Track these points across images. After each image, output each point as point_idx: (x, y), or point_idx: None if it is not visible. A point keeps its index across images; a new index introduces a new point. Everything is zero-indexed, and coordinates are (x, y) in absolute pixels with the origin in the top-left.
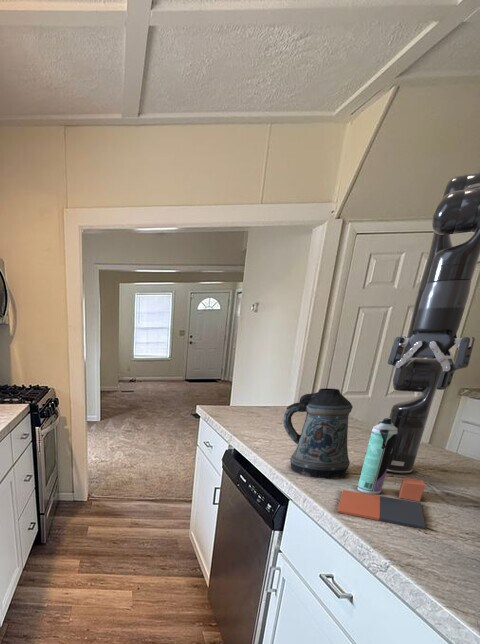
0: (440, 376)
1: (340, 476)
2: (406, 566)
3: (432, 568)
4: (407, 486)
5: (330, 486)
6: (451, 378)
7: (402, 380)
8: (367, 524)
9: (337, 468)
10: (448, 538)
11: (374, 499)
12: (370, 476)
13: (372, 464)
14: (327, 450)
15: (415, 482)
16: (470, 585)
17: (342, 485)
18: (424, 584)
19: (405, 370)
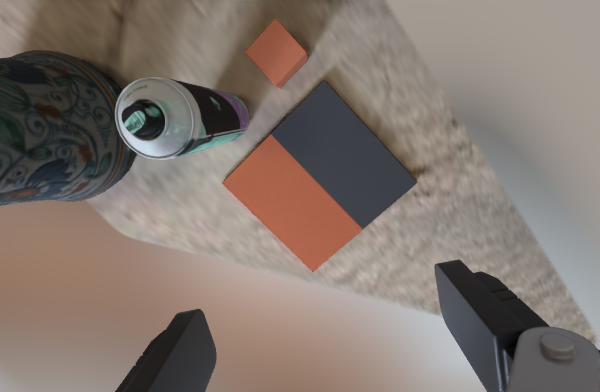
0: (483, 382)
1: None
2: None
3: (511, 286)
4: (283, 78)
5: (187, 181)
6: (522, 308)
7: (193, 336)
8: (368, 258)
9: None
10: (455, 174)
11: (284, 162)
12: (228, 140)
13: (217, 144)
14: (80, 166)
15: (283, 56)
16: (560, 279)
17: None
18: None
19: (160, 390)
